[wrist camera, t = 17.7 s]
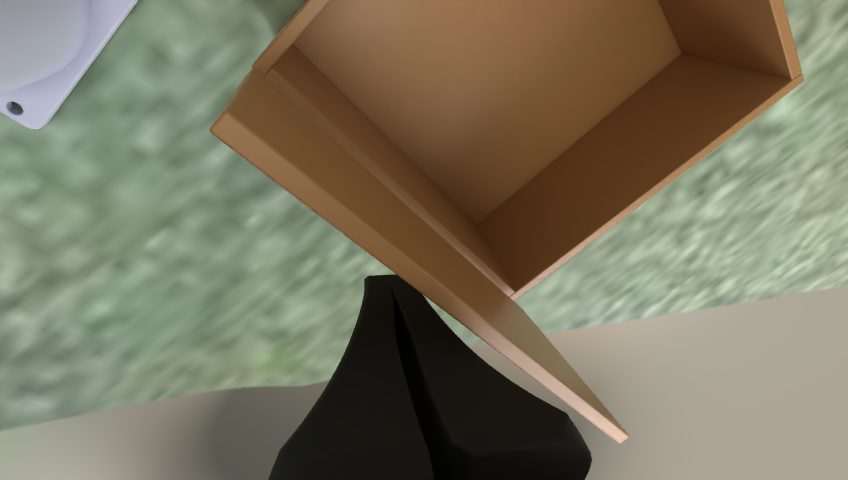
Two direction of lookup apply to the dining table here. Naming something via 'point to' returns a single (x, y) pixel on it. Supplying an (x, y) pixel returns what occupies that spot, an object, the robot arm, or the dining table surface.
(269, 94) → the flap
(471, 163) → the carton
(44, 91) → the robot arm
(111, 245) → the dining table surface
